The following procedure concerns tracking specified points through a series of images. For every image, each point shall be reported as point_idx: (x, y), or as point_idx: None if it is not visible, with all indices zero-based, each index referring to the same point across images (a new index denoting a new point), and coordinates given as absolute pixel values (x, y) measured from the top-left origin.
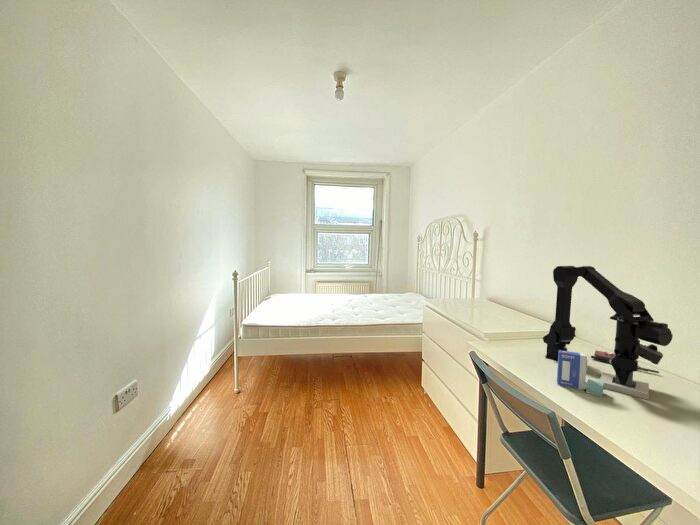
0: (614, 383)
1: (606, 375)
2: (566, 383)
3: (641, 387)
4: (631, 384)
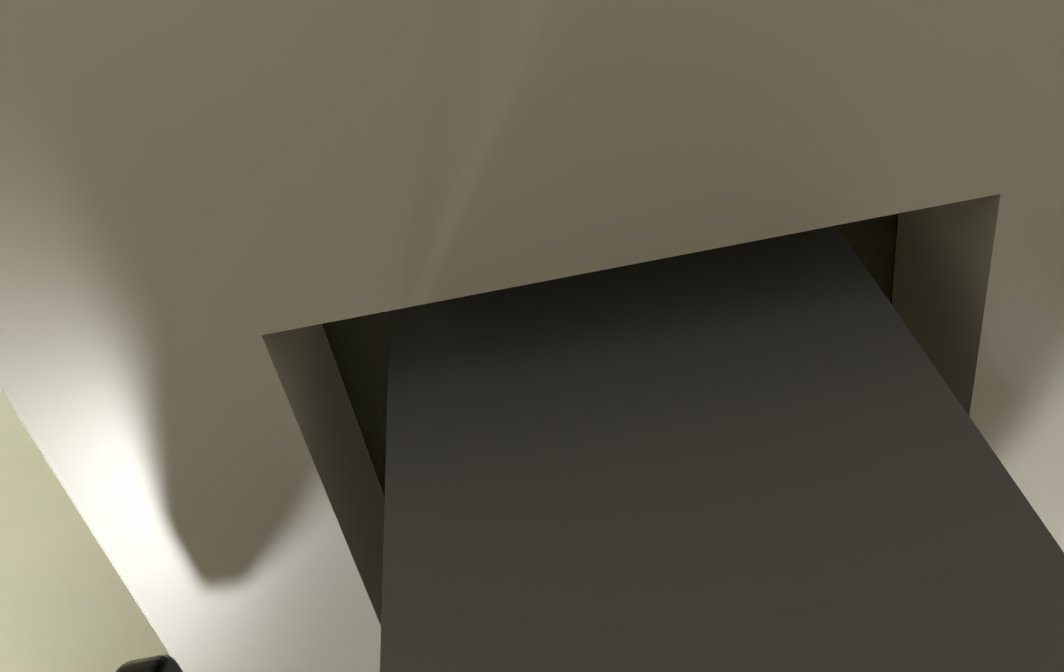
0: None
1: None
2: None
3: (701, 78)
4: (930, 368)
